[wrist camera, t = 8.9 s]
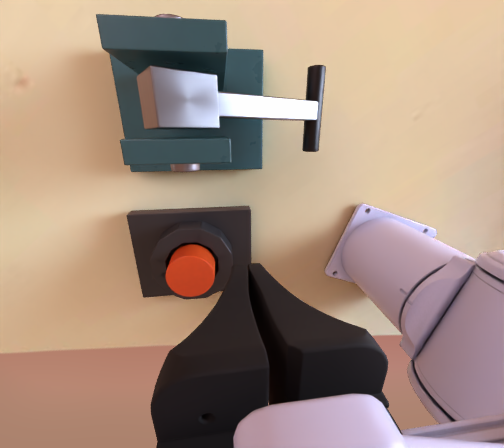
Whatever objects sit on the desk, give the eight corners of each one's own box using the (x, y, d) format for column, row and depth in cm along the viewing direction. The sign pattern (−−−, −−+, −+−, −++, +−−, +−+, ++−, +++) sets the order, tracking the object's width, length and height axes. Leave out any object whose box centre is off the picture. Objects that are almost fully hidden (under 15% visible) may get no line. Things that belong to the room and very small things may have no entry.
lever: (308, 71, 16) (338, 64, 14) (302, 150, 18) (329, 151, 16) (130, 37, 10) (143, 16, 8) (148, 159, 12) (163, 164, 10)
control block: (249, 205, 21) (253, 216, 19) (249, 281, 24) (253, 301, 21) (131, 210, 20) (117, 223, 17) (146, 289, 23) (136, 311, 20)
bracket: (260, 54, 17) (305, -30, 8) (259, 167, 20) (292, 194, 11) (115, 50, 16) (-16, -54, 7) (135, 169, 19) (60, 203, 10)
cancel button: (213, 242, 19) (213, 254, 18) (216, 280, 21) (215, 295, 19) (167, 245, 19) (162, 257, 17) (173, 283, 20) (168, 299, 18)
